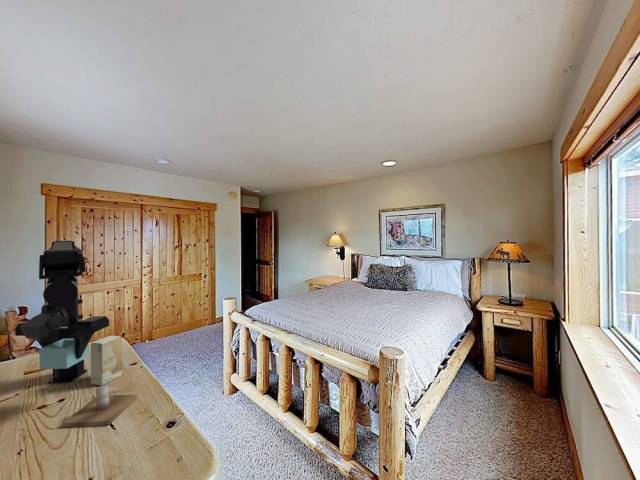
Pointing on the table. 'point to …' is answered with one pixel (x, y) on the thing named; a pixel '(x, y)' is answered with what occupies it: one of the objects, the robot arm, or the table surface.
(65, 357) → the collar
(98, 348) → the skincare box
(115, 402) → the post plate
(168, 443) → the table surface
